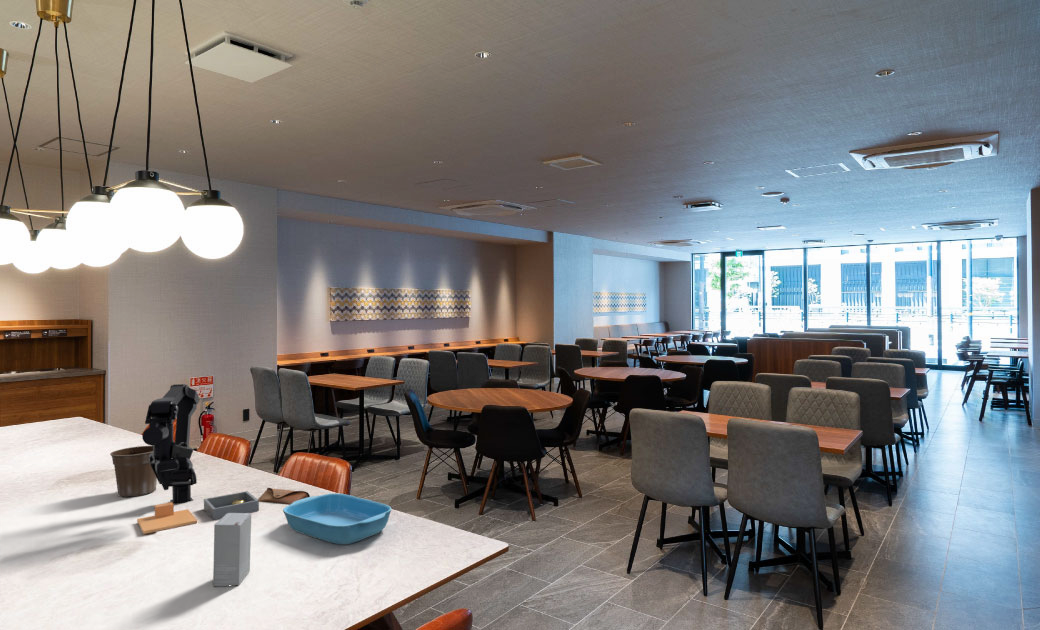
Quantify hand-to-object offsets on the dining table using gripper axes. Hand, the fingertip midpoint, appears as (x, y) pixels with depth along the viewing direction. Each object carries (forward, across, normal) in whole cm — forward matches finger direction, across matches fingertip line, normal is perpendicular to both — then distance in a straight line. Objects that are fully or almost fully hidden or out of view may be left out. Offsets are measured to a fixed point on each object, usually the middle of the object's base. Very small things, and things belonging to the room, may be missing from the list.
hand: (163, 486), depth 197 cm
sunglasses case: (+12, -5, -36) cm, 38 cm away
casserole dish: (+12, -45, -40) cm, 61 cm away
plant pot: (+11, +42, +3) cm, 43 cm away
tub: (+11, -5, -19) cm, 23 cm away
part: (+10, -2, -22) cm, 24 cm away
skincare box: (+11, -62, -6) cm, 63 cm away
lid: (+10, -5, 0) cm, 11 cm away
